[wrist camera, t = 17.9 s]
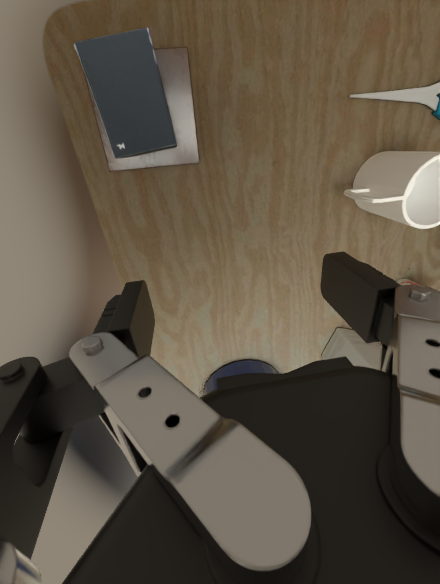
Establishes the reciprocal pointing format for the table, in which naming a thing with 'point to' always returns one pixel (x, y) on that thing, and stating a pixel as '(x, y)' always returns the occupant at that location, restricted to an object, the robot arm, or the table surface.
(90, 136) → the table surface
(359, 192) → the cup
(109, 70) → the box
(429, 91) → the scissors
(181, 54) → the board
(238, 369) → the bowl
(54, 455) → the robot arm
